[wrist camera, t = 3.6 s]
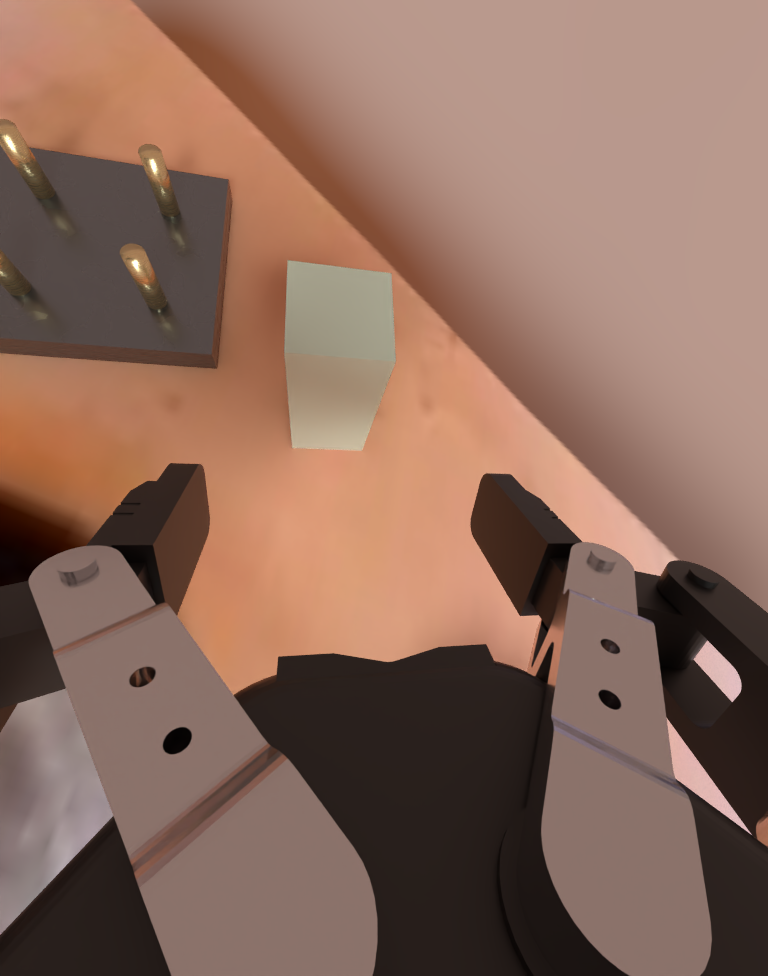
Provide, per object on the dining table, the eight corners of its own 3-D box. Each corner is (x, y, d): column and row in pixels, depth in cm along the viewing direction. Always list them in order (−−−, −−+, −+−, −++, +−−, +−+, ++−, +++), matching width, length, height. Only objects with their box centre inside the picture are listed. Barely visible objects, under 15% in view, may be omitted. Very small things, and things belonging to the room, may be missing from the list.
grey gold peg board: (-46, 349, 22) (-141, 281, 17) (9, 166, 26) (-57, 70, 21) (216, 368, 25) (196, 314, 20) (232, 200, 29) (217, 121, 24)
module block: (292, 448, 24) (284, 352, 15) (293, 385, 26) (287, 260, 16) (362, 450, 25) (395, 361, 16) (360, 389, 26) (391, 273, 17)
